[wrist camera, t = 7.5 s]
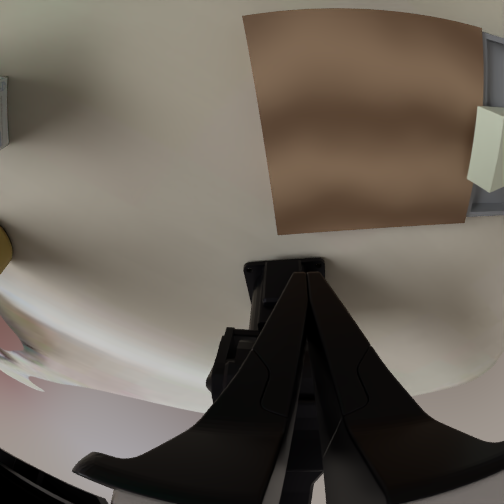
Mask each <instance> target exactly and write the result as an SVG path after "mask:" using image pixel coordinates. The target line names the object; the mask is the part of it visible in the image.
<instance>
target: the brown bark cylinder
mask: <svg viewBox="0 0 504 504" xmlns="http://www.w3.org/2000/svg"><path fill="white" fill-rule="evenodd" d="M11 259H12V246H11V243H10V240H9V238H8V236H7V234H6V233H5V231H4V230H3V229H2V227H1V226H0V274H1V273H2V272H3V270H4V269H5V268H6V266H7V265H8V264H9V262H10V261H11Z"/></svg>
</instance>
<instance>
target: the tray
mask: <svg viewBox="0 0 504 504" xmlns="http://www.w3.org/2000/svg"><path fill="white" fill-rule="evenodd" d="M482 38H483V60H484V85H483V106H488V107H503V108H504V38H501V37H498V36H494V35H491V34H488V33H484V32H482ZM495 215H504V187H502V188H500V189H497V190H495V191H493V192H490V193H489V192H487V191H486V190H484V189H483V188H481V187H479V186H478V185H476V184H475V183H473V186H472V191H471V196H470V201H469V206H468V210H467V214H466V217H470V216H495Z"/></svg>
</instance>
